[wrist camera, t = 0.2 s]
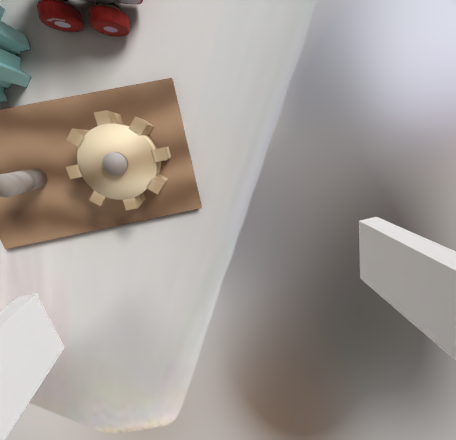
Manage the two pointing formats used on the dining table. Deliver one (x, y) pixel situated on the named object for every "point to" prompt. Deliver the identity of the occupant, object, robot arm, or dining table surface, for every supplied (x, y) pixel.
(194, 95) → the dining table surface
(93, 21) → the toy fire truck
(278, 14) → the dining table surface
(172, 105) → the gear board
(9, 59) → the teal gear
